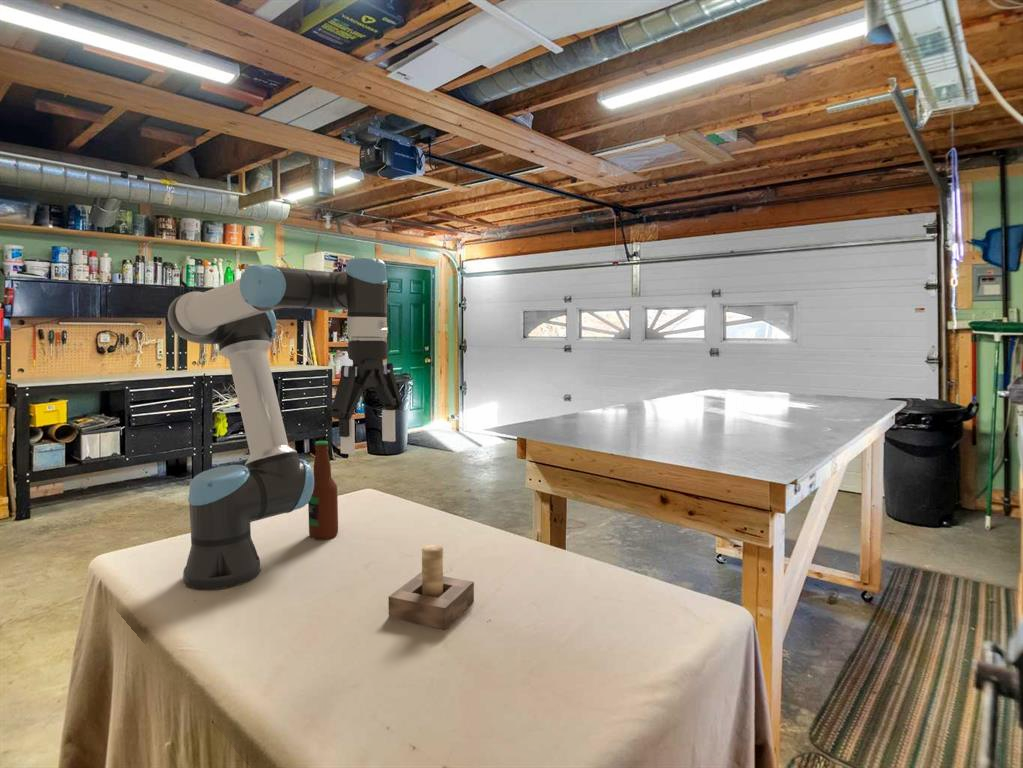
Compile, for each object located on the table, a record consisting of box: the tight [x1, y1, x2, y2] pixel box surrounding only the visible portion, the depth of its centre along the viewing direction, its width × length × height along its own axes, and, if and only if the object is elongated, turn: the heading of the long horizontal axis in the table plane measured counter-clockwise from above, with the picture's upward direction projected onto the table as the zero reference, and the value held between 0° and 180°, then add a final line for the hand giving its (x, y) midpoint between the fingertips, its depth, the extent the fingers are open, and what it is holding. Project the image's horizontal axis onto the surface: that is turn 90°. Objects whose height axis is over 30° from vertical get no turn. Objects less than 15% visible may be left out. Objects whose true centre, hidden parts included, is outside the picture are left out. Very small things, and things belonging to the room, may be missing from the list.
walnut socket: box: [388, 571, 475, 630], centre depth 112 cm, size 12×12×4 cm
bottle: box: [307, 440, 339, 541], centre depth 151 cm, size 7×7×25 cm
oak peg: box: [421, 544, 444, 598], centre depth 112 cm, size 4×4×12 cm
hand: (369, 447), depth 115 cm, fingers open, 13 cm apart
